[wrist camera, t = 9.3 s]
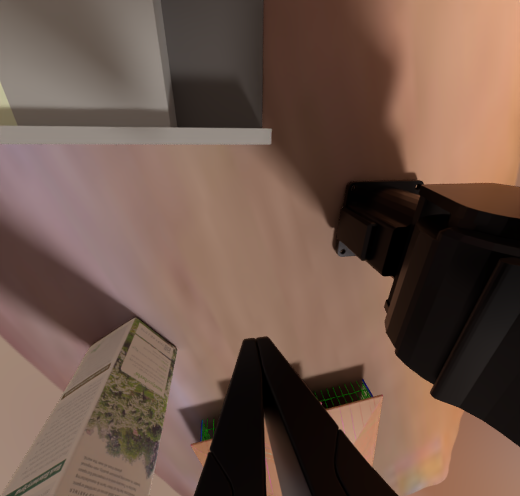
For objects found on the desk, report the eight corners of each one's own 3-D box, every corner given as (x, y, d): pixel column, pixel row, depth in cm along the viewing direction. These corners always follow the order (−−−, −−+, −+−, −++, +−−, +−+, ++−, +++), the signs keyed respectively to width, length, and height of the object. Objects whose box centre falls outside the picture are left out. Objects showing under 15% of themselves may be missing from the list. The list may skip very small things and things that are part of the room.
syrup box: (88, 345, 22) (-103, 653, 9) (137, 313, 21) (7, 598, 8) (135, 374, 24) (40, 648, 11) (181, 347, 24) (133, 606, 11)
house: (368, 356, 30) (417, 429, 22) (358, 472, 45) (385, 537, 37) (187, 401, 28) (175, 495, 21) (239, 505, 43) (243, 580, 36)
